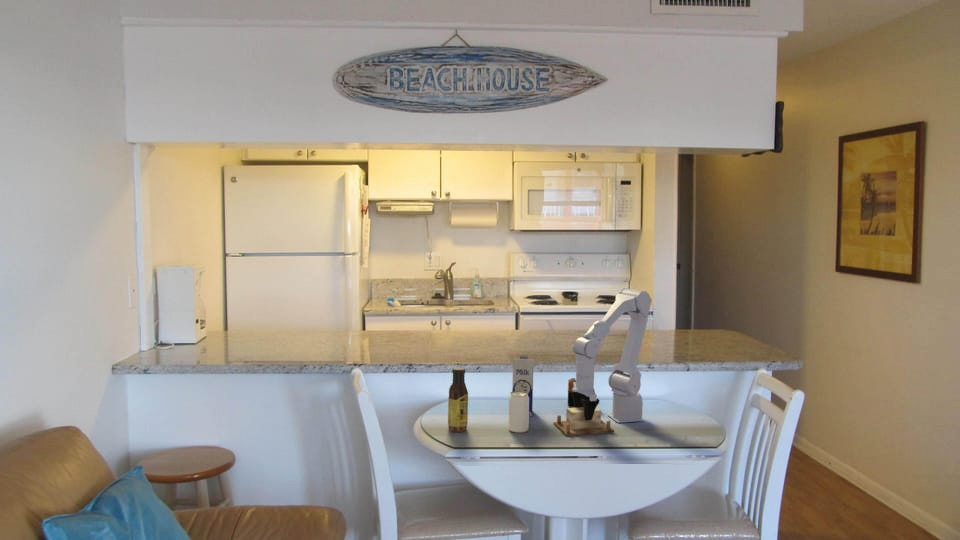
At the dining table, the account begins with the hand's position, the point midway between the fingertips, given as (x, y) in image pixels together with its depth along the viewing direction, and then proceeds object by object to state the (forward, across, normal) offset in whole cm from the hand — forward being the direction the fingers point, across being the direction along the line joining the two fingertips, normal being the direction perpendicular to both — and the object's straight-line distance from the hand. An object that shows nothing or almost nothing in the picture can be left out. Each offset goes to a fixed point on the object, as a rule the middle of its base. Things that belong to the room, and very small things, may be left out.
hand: (583, 416), depth 200 cm
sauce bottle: (+4, -7, -40) cm, 41 cm away
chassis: (+4, 0, 0) cm, 4 cm away
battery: (+4, -22, +7) cm, 23 cm away
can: (+4, -3, -21) cm, 22 cm away
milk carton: (+4, -18, -15) cm, 24 cm away
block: (+3, 0, 0) cm, 3 cm away
